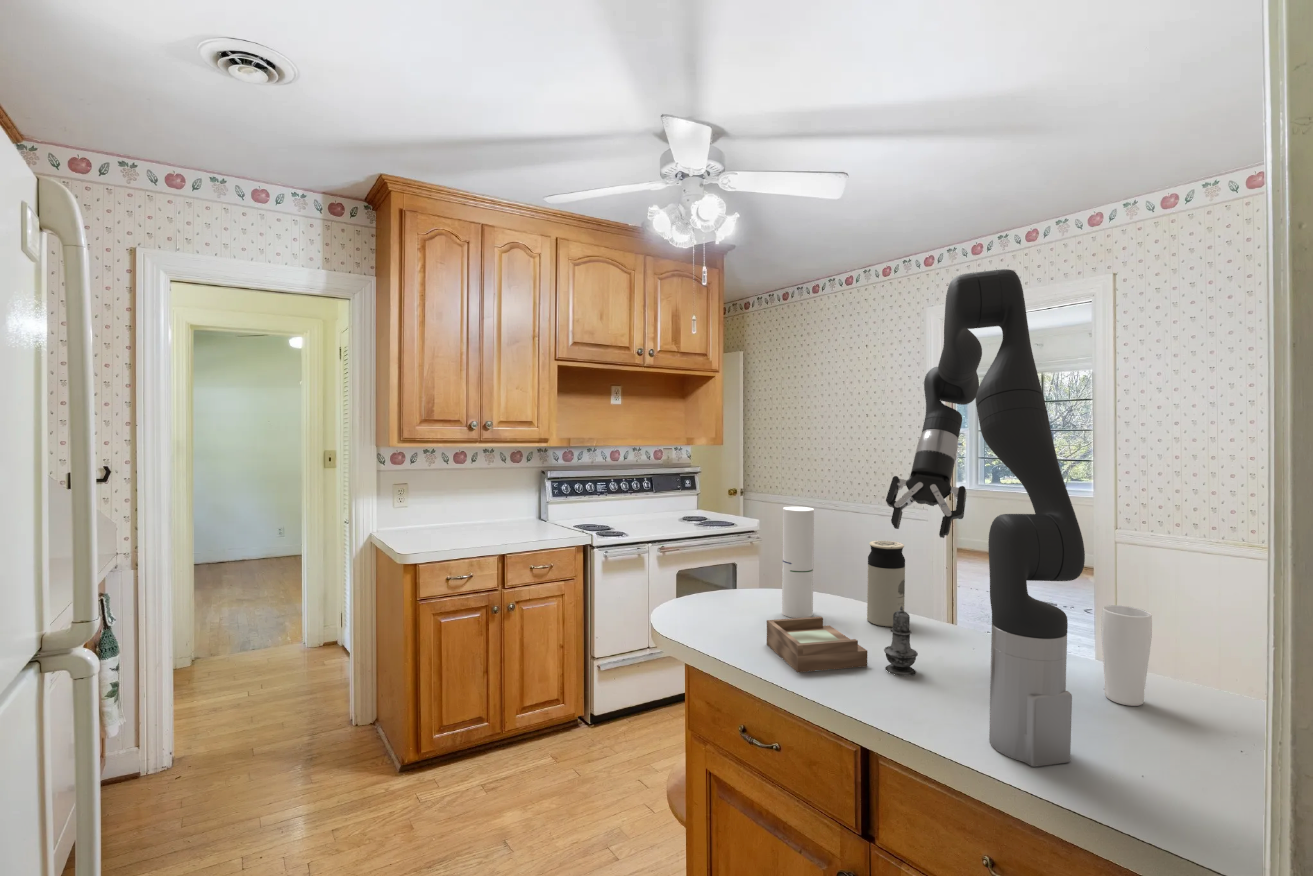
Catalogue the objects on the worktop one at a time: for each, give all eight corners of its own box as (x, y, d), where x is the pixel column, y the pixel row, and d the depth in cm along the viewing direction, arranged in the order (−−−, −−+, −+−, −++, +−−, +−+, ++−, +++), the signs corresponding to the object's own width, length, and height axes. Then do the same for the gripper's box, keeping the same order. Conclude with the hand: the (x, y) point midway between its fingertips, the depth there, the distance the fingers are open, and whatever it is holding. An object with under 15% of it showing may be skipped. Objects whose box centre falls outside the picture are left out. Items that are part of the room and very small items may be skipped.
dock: (867, 666, 122) (867, 640, 122) (797, 672, 119) (798, 645, 119) (829, 639, 137) (829, 615, 136) (766, 644, 134) (766, 620, 133)
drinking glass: (1146, 697, 109) (1149, 608, 108) (1152, 713, 103) (1155, 619, 103) (1097, 688, 112) (1100, 602, 112) (1100, 703, 107) (1103, 612, 106)
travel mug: (859, 620, 149) (860, 542, 148) (880, 614, 154) (881, 538, 153) (890, 630, 143) (891, 548, 142) (911, 623, 147) (912, 544, 147)
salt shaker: (920, 678, 117) (921, 612, 116) (886, 675, 118) (887, 609, 117) (914, 665, 122) (915, 602, 122) (881, 663, 124) (882, 600, 123)
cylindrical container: (794, 607, 159) (795, 505, 158) (819, 614, 154) (820, 509, 153) (775, 612, 155) (776, 508, 154) (799, 620, 149) (801, 511, 148)
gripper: (895, 444, 133) (877, 519, 128) (972, 453, 125) (955, 533, 120) (901, 459, 138) (884, 530, 134) (975, 469, 131) (959, 545, 126)
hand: (918, 532), depth 127 cm, fingers open, 8 cm apart
